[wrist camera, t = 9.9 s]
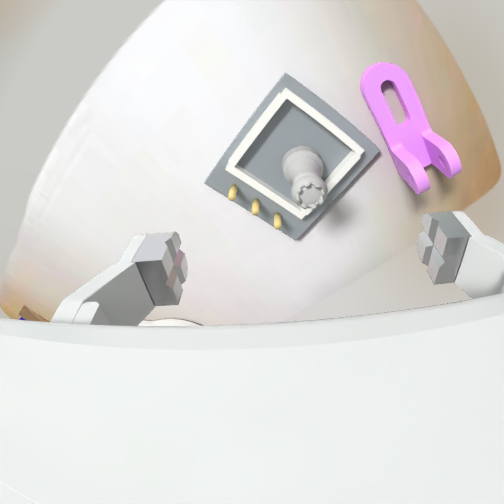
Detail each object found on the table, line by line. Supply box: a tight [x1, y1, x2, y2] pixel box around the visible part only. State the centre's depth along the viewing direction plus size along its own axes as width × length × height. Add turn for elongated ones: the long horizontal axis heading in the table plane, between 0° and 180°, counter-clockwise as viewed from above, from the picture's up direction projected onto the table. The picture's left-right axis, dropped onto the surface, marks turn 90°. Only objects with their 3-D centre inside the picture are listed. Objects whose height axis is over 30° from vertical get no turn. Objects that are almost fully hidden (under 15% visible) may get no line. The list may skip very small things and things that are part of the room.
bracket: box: [360, 62, 462, 194], centre depth 26 cm, size 13×6×7 cm, turn 34°
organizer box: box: [19, 306, 49, 322], centre depth 54 cm, size 7×11×2 cm, turn 55°
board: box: [205, 73, 380, 240], centre depth 32 cm, size 15×13×4 cm
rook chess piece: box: [281, 146, 328, 210], centre depth 29 cm, size 4×4×8 cm
